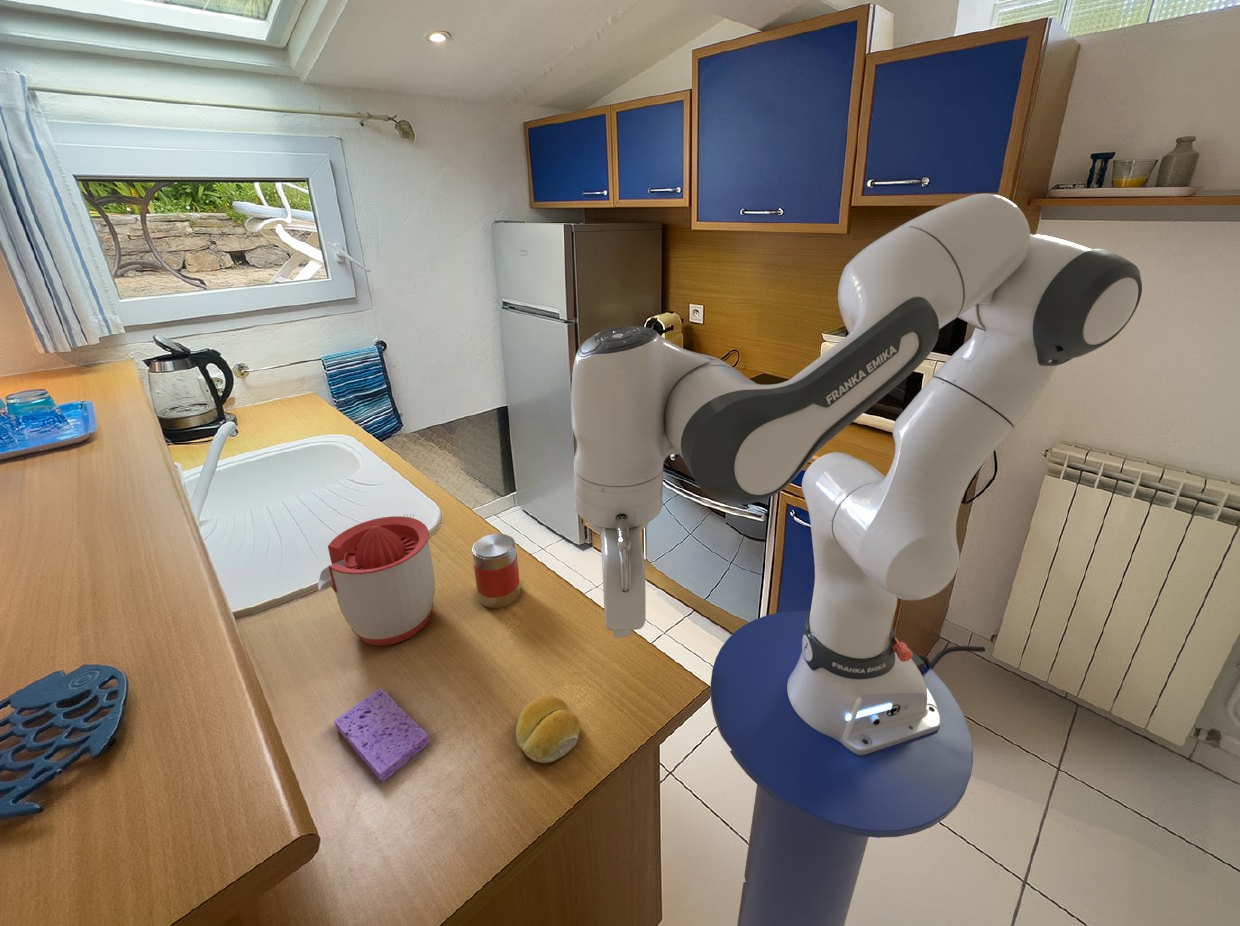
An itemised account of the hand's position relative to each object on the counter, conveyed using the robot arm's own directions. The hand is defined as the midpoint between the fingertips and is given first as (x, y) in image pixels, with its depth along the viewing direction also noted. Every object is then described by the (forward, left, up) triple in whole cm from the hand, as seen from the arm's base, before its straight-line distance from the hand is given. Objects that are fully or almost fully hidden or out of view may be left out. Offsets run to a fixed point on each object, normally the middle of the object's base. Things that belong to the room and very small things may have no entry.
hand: (619, 600), depth 59 cm
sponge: (+33, -9, -29) cm, 45 cm away
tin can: (+21, -37, -29) cm, 51 cm away
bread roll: (+10, -7, -29) cm, 31 cm away
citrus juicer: (+39, -31, -29) cm, 57 cm away
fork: (+46, -56, -29) cm, 78 cm away
